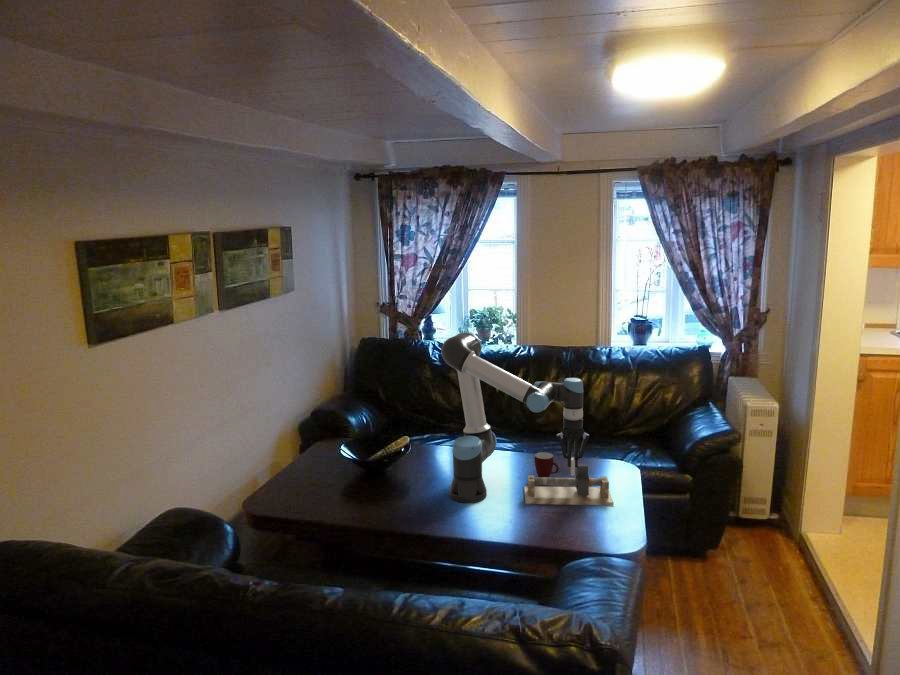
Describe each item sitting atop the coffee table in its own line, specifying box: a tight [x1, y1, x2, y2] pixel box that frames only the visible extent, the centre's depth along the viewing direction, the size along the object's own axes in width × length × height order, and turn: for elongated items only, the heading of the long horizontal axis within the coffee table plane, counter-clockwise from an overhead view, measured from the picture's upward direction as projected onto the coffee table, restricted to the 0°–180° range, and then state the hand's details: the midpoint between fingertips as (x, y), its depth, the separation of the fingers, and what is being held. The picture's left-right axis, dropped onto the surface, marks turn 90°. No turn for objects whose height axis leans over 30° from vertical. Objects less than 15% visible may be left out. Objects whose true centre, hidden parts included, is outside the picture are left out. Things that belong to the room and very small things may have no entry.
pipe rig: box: [523, 474, 614, 506], centre depth 254 cm, size 34×14×8 cm, turn 85°
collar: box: [575, 463, 590, 496], centre depth 253 cm, size 4×8×11 cm, turn 175°
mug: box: [534, 451, 560, 478], centre depth 273 cm, size 10×8×10 cm
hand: (572, 474), depth 253 cm, fingers closed
